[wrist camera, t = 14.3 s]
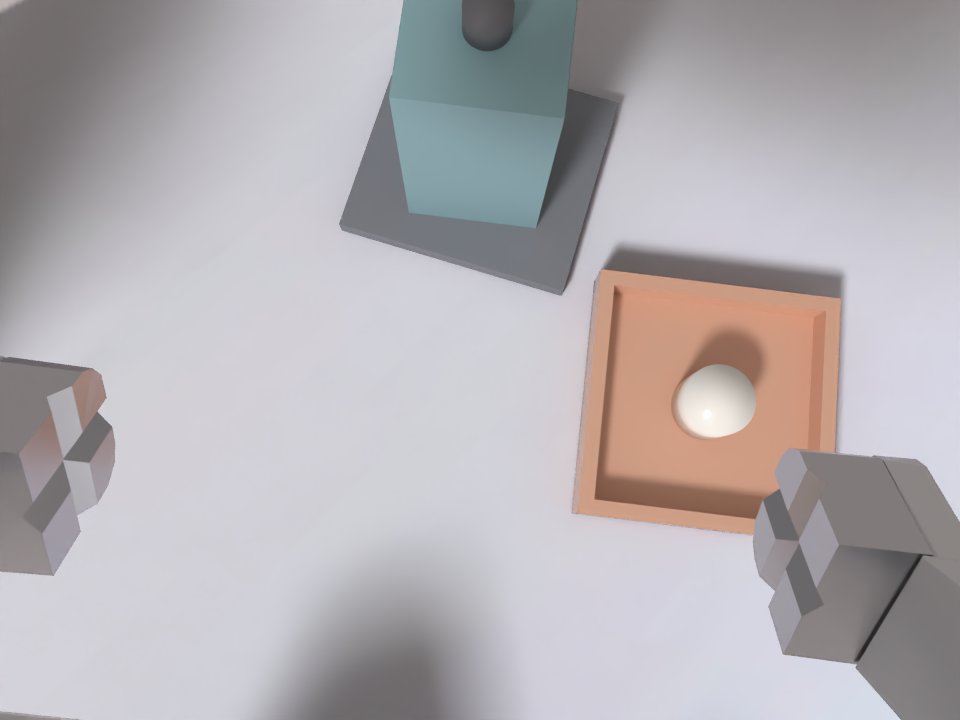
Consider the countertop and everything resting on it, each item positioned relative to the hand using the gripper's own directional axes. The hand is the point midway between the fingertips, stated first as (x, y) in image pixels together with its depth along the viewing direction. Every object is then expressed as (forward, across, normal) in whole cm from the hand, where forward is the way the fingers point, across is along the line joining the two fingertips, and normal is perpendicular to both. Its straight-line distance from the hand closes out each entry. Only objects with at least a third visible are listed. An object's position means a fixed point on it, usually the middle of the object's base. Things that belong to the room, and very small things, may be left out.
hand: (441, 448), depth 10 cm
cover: (+27, 0, +7) cm, 28 cm away
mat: (+27, 0, +7) cm, 28 cm away
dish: (+20, -10, +14) cm, 27 cm away
